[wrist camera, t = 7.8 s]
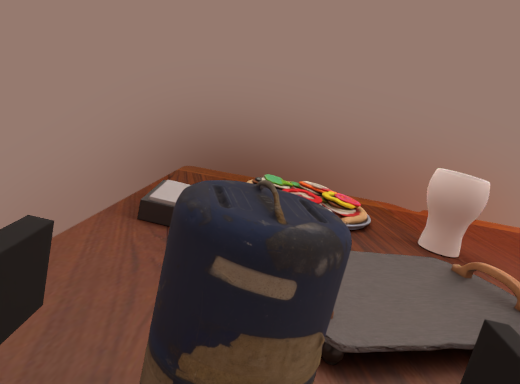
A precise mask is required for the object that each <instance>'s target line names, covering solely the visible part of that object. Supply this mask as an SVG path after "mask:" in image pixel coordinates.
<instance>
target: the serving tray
mask: <svg viewBox="0 0 520 384" xmlns="http://www.w3.org/2000/svg"><path fill="white" fill-rule="evenodd" d="M476 270H478V271H481V272H484V273H486V274H488V275H490V276H492V277H494V278H495V279H497V280H499V281H500V282H502V283H503V284H505V285H506V286H507V287H508V288H510V289H511V290H512V291H513V292H514V294H515V295H516V297H515V296H513V295H511V294H509V293H508V292H506V291H505V290H503V289H501V288H499V287H497V286H496V285H494V284H492V283H490V282H487V281H486V280H484V279H482V278H480V277H478V276H476V275H473V272H474V271H476ZM484 319H486V320H491V321H495V322H500V323H504V324H508V325H510V326H511V327H512V328H513V329H514V330H515V331H516V332H517V333H518V334H519V335H520V282H518V281H517V280H516V279H515V278H513V277H512V276H510V275H509V274H507V273H505V272H503V271H502V270H500V269H498V268H496V267H493V266H491V265H488V264H485V263H480V262H473V263H469V264H466V265H464V266H460V265H458V264H454V265H451V264H450V263H447V262H445V261H442V260H438V259H436V258H431V257H420V256H407V255H394V254H379V253H371V252H356V251H350V255H349V259H348V262H347V266H346V269H345V272H344V275H343V278H342V282H341V285H340V289H339V292H338V295H337V299H336V302H335V306H334V309H333V313H332V316H331V319H330V322H329V326H328V329H327V332H326V336H325V341H324V343H323V346H322V356H323V360H324V361H325V362H326V363H328V364H331V365H335V364H337V362H339V361H340V360H341V359H342V358H343V356H344V353H368V352H393V351H433V350H440V349H449V348H451V349H464V350H471V349H474V346H475V343H476V341H477V338H478V335H479V333H480V330H481V327H482V325H483V322H484Z"/></svg>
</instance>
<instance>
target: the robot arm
mask: <svg viewBox="0 0 520 384" xmlns="http://www.w3.org/2000/svg"><path fill="white" fill-rule="evenodd" d="M53 225H54V221H53V220H48V219H44V218H40V217H35V216H30V215H27V216H25V217H23V218H21V219H20V220H18V221H16V222H14V223H12V224H10V225H8V226H6V227H4V228H2V229H0V344H1V343H3V342H4V341H5V340H6V339H7V338H8V337H9V336H10V335H11V334H12V333H13V332H14V331H15V330H16V329H17V328H19V327H20V326H21V325H22V324H23V323H24V322H25V321H26V320H27V319H28V318H29V317H30V316H31V315H32V314H33V313H35V312H36V311H37V310H38V309H39V308H40V307H41V306H42V305H43V299H44V292H45V284H46V277H47V269H48V262H49V255H50V247H51V240H52V232H53ZM460 384H520V335H519V334H518V333H517V332H516V331H515V330H514V329H513V328H512V327H511V326H510V325H508V324H504V323H500V322H495V321H491V320H486V319H484V322H483V325H482V327H481V330H480V333H479V335H478V338H477V341H476V343H475V346H474V349H473V351H472V354H471V357H470V359H469V362H468V365H467V367H466V370H465V373H464V375H463V378H462V381H461V383H460Z"/></svg>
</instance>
